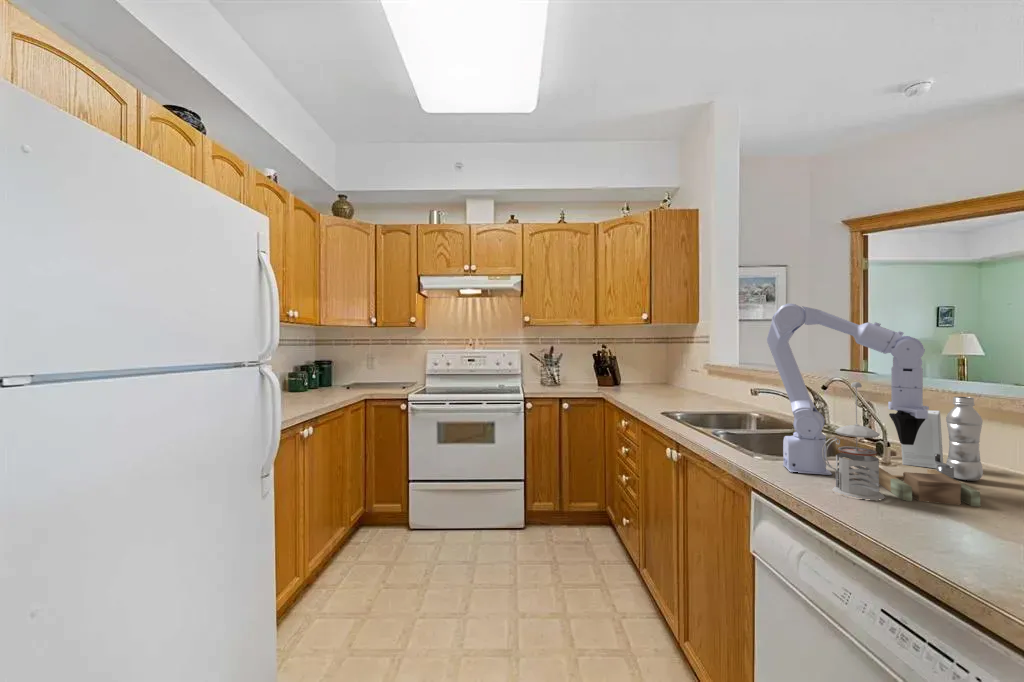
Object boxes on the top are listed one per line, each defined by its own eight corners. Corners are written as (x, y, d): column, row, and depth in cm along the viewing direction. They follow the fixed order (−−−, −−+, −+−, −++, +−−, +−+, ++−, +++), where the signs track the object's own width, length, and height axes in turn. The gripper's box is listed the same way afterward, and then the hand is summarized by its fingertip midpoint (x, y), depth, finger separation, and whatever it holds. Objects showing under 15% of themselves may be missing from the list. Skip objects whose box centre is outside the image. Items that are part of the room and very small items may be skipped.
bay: (903, 500, 100) (903, 486, 100) (868, 476, 118) (868, 464, 118) (980, 506, 96) (980, 491, 96) (932, 480, 114) (932, 468, 114)
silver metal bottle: (966, 475, 117) (965, 395, 117) (991, 484, 111) (990, 399, 111) (938, 475, 118) (937, 395, 118) (961, 483, 111) (960, 399, 111)
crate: (918, 502, 100) (918, 481, 100) (903, 491, 107) (903, 472, 107) (961, 505, 98) (961, 483, 98) (942, 494, 104) (942, 474, 104)
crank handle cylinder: (941, 484, 110) (940, 458, 110) (929, 478, 115) (929, 453, 115) (956, 486, 110) (956, 459, 110) (944, 479, 114) (944, 454, 114)
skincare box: (943, 465, 127) (942, 410, 127) (941, 470, 122) (940, 413, 122) (903, 460, 133) (902, 407, 133) (899, 464, 129) (899, 410, 128)
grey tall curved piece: (895, 502, 99) (894, 384, 99) (834, 499, 102) (833, 383, 102) (870, 487, 109) (869, 380, 109) (814, 485, 111) (813, 379, 111)
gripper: (944, 390, 104) (944, 452, 104) (912, 384, 117) (912, 438, 117) (905, 390, 106) (905, 450, 106) (878, 383, 120) (878, 437, 120)
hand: (906, 444), depth 112 cm, fingers closed
